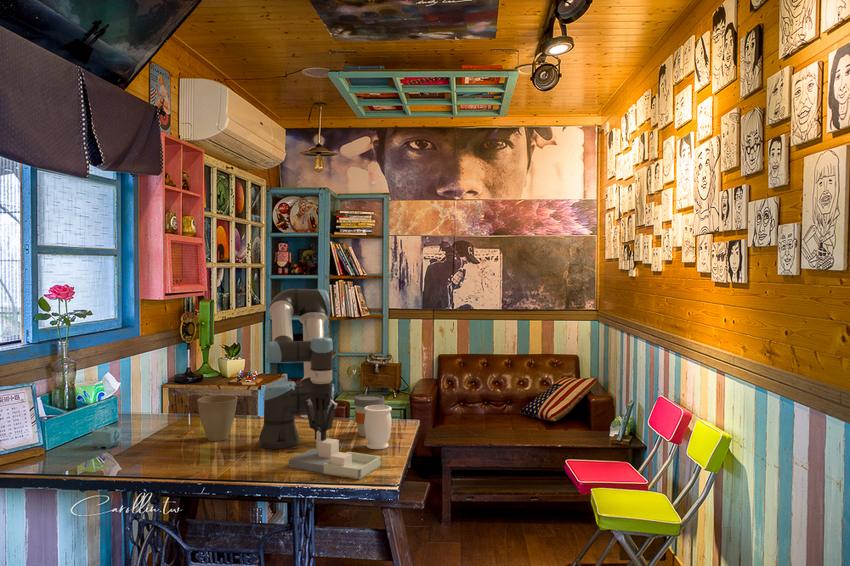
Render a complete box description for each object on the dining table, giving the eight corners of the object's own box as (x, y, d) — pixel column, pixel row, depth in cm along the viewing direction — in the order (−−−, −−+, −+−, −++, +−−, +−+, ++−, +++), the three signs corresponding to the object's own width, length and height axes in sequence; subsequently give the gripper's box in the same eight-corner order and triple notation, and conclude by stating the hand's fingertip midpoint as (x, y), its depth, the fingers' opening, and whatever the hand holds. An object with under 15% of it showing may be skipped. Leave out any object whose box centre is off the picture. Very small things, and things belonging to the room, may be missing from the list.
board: (288, 467, 191) (288, 459, 191) (312, 455, 204) (312, 448, 204) (323, 473, 186) (323, 465, 186) (345, 460, 199) (345, 453, 199)
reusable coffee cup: (358, 438, 226) (359, 401, 226) (349, 431, 238) (350, 395, 238) (388, 435, 231) (388, 399, 231) (378, 428, 243) (378, 393, 243)
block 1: (318, 456, 195) (318, 441, 195) (326, 452, 200) (326, 438, 200) (330, 458, 193) (331, 443, 193) (338, 454, 198) (338, 439, 198)
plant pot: (217, 432, 234) (217, 393, 234) (245, 436, 227) (245, 396, 227) (188, 441, 220) (188, 400, 220) (216, 446, 214) (217, 404, 214)
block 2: (330, 471, 186) (330, 456, 186) (338, 466, 190) (339, 451, 190) (343, 473, 184) (344, 458, 184) (351, 468, 188) (351, 453, 188)
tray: (323, 473, 185) (323, 463, 185) (346, 460, 199) (347, 451, 199) (359, 479, 180) (360, 469, 180) (381, 466, 194) (381, 456, 194)
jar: (387, 451, 210) (387, 411, 210) (360, 449, 212) (360, 409, 212) (394, 443, 220) (394, 405, 220) (368, 441, 222) (369, 403, 222)
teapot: (83, 448, 209) (83, 428, 209) (93, 443, 215) (94, 424, 215) (114, 449, 208) (115, 429, 208) (124, 444, 214) (124, 425, 214)
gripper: (299, 382, 197) (298, 450, 197) (331, 385, 192) (330, 454, 192) (311, 378, 204) (311, 444, 204) (342, 381, 199) (342, 449, 198)
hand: (320, 449), depth 198 cm, fingers closed
